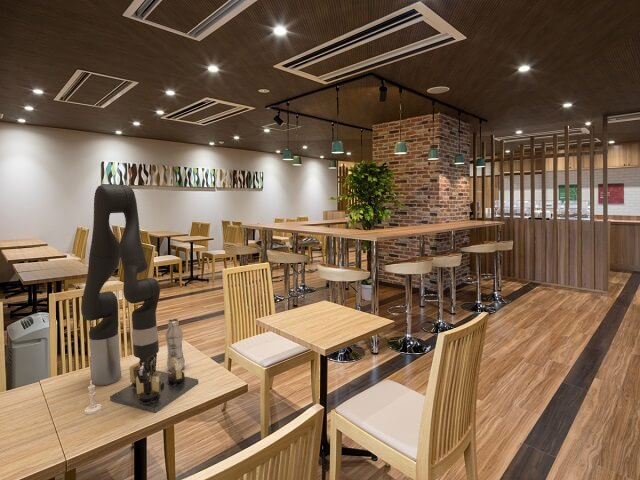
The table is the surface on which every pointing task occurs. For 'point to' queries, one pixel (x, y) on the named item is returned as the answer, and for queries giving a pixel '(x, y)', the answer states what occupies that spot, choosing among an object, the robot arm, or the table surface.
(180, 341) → the plastic bottle
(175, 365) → the knob
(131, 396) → the plate
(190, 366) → the table surface
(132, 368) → the knob
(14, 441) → the table surface
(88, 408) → the chess piece
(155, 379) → the knob
